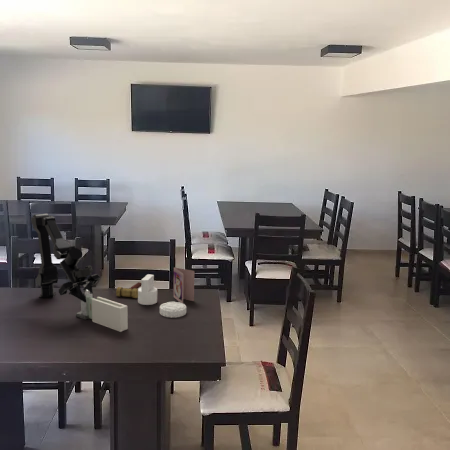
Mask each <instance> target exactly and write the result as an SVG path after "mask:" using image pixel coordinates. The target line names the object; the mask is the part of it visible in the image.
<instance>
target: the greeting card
mask: <svg viewBox="0 0 450 450" xmlns="http://www.w3.org/2000/svg"><path fill="white" fill-rule="evenodd" d="M172 273H173V298H174V299H176V301H178V302H180V303H183V304H184V300H186V301H191V302H195V270H191V269H186V268H185V269H184V268H180V267H173V271H172Z"/></svg>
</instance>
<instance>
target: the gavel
mask: <svg viewBox="0 0 450 450" xmlns="http://www.w3.org/2000/svg"><path fill="white" fill-rule="evenodd" d="M139 288H141V282H140V281H139V282H136V283H135V284H134V285H132V286H130V287H129V288H125V287H122V286H117V288H116V291H115V293H116V294H115V295H116V297H127V298H132V299H138V289H139Z"/></svg>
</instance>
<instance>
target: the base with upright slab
mask: <svg viewBox="0 0 450 450" xmlns="http://www.w3.org/2000/svg"><path fill="white" fill-rule="evenodd" d="M154 278H155V275H154V274H149V273H148V274H146V275H145V276H144V277H143V278H141V280H140V281H141V282H140V283H141V287H139V288H138V297H137V303H138V304H140V305H144V306H145V305H146V306H149V305H156V303H158V288H157V287H155V279H154Z"/></svg>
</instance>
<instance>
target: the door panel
mask: <svg viewBox="0 0 450 450" xmlns="http://www.w3.org/2000/svg"><path fill="white" fill-rule="evenodd" d="M92 299H97V298H95V297H94V298H92V297H89V298H88V310H89V318H88V319H91V320H92ZM97 300H98V299H97ZM100 301H101V300H100ZM103 302H104V301H103ZM106 303H107V302H106ZM109 304H110V303H109Z"/></svg>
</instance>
